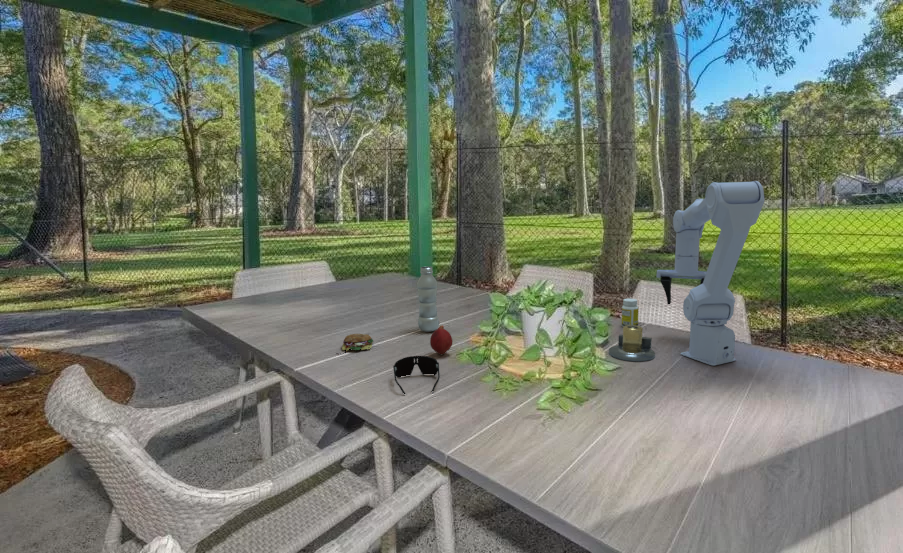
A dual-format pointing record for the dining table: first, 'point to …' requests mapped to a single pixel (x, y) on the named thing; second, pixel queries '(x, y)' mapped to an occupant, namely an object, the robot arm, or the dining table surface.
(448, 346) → the onion
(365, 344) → the hamburger
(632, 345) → the cylinder
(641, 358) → the flange seat
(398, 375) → the sunglasses
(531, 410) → the dining table surface
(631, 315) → the supplement bottle
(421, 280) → the plastic bottle
